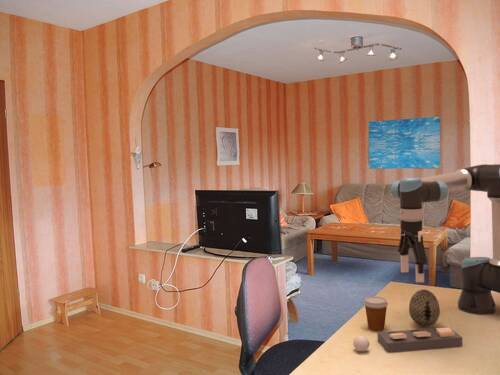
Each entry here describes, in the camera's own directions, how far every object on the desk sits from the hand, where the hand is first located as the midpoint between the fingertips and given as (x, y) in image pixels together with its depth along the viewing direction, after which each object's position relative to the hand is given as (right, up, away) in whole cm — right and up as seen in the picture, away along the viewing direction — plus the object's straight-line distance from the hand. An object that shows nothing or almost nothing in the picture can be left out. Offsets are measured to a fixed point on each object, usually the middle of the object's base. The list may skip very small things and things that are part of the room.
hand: (412, 276), depth 163 cm
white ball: (-19, -27, -1) cm, 33 cm away
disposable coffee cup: (-8, -25, +18) cm, 32 cm away
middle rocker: (+3, -21, -1) cm, 21 cm away
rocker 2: (+12, -20, 0) cm, 24 cm away
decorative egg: (+12, -24, +18) cm, 32 cm away
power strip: (+3, -25, +2) cm, 26 cm away
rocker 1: (-6, -21, -2) cm, 22 cm away
